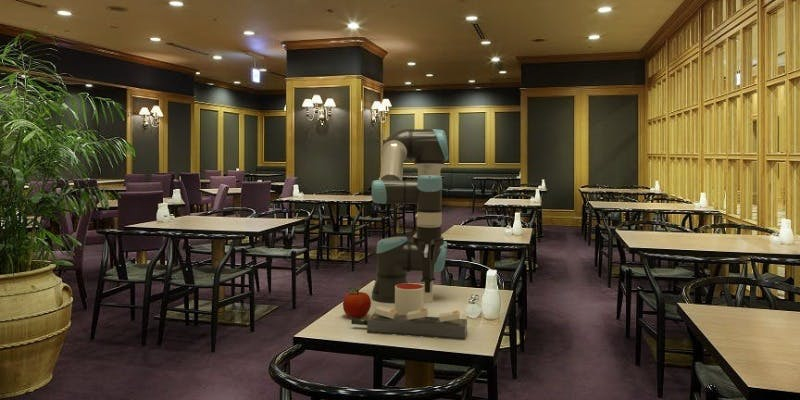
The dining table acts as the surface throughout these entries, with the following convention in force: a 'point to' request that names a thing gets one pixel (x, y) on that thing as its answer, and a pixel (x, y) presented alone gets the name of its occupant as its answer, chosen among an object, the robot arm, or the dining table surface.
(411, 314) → the rocker
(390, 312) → the block
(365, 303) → the fruit
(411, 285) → the cup
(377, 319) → the power strip
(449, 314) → the rocker
